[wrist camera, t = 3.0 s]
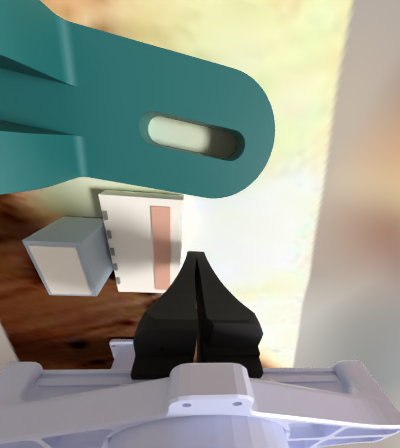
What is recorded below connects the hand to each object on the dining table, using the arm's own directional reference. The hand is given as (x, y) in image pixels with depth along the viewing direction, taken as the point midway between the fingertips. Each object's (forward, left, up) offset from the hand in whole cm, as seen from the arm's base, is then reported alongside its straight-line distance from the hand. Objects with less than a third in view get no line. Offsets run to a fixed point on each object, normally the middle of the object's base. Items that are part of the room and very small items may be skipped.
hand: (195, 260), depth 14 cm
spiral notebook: (0, +4, -2) cm, 5 cm away
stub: (0, +9, -2) cm, 10 cm away
